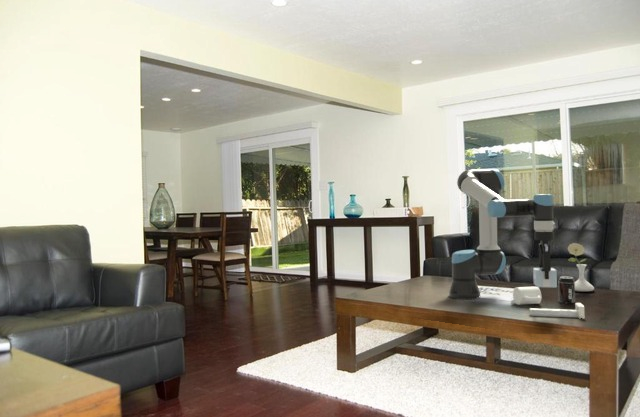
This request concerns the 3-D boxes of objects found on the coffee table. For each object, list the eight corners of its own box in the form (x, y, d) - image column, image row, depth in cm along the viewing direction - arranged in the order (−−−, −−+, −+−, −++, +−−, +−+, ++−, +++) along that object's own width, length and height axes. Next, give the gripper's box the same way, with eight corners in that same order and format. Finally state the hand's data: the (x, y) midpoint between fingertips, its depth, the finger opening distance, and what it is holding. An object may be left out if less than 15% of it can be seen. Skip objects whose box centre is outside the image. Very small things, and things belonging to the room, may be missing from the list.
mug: (512, 302, 236) (512, 286, 236) (533, 301, 236) (532, 285, 236) (525, 308, 224) (525, 290, 224) (546, 307, 225) (546, 289, 224)
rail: (531, 316, 207) (531, 304, 207) (529, 313, 214) (529, 301, 214) (584, 318, 201) (584, 306, 201) (580, 314, 208) (580, 303, 208)
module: (535, 287, 206) (535, 268, 206) (533, 284, 213) (533, 266, 213) (557, 287, 204) (556, 269, 204) (553, 284, 211) (553, 266, 211)
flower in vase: (598, 291, 257) (597, 243, 257) (587, 294, 251) (586, 244, 250) (573, 287, 268) (573, 241, 267) (562, 290, 261) (561, 243, 261)
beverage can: (576, 304, 228) (575, 278, 227) (559, 304, 230) (559, 278, 230) (574, 301, 234) (573, 276, 234) (558, 301, 236) (557, 275, 236)
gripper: (557, 232, 197) (559, 289, 198) (549, 229, 217) (550, 281, 217) (537, 232, 200) (538, 289, 200) (531, 229, 219) (532, 281, 219)
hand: (545, 285), depth 209 cm, fingers closed on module, 7 cm apart
